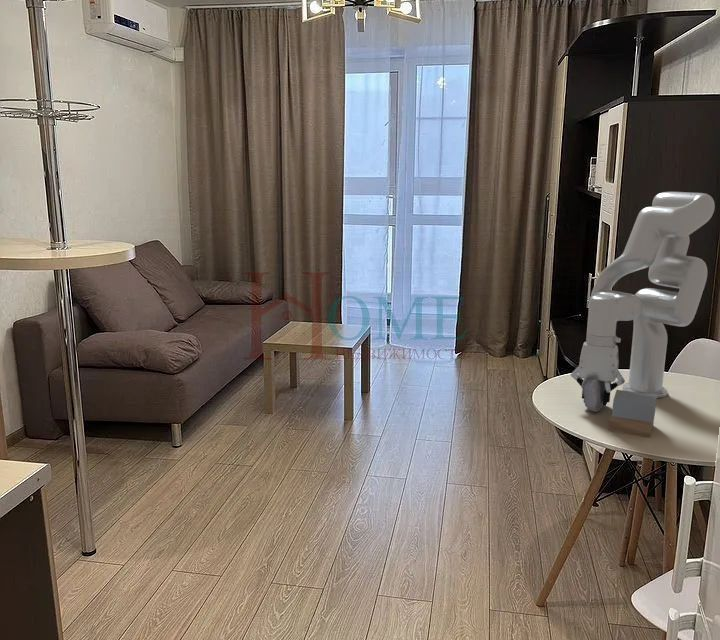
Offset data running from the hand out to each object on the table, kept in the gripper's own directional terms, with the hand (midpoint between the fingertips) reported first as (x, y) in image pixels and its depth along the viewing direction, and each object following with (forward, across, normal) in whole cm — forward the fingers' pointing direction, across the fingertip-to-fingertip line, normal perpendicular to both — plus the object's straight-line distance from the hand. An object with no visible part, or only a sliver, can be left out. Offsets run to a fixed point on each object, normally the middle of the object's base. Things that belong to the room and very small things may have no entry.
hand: (595, 402), depth 197 cm
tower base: (+3, -11, +10) cm, 15 cm away
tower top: (-2, -11, +10) cm, 15 cm away
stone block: (+3, 0, 0) cm, 3 cm away
